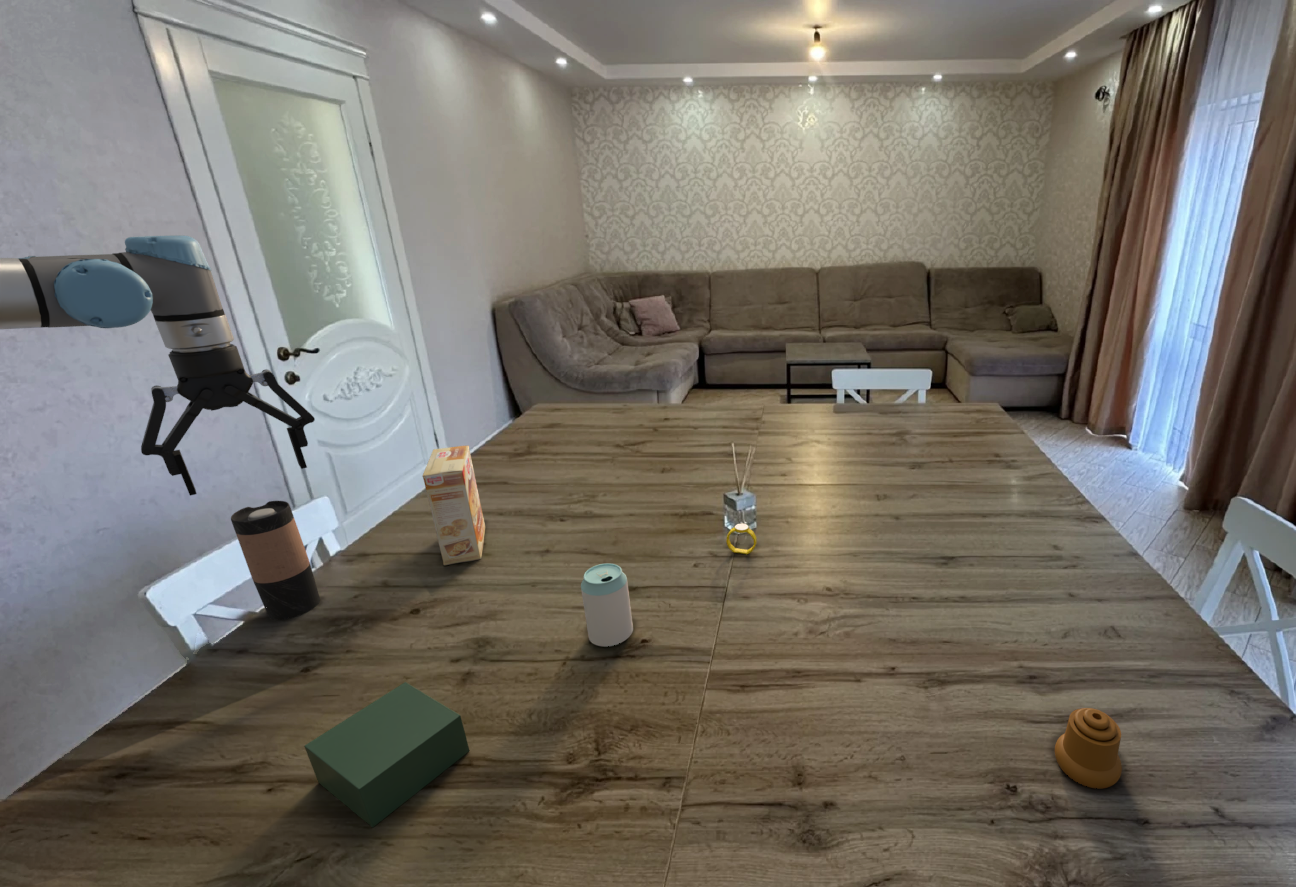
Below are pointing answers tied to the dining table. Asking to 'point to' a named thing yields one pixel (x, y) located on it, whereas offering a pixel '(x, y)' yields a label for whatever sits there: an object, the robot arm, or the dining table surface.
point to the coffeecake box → (455, 504)
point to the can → (606, 605)
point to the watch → (741, 529)
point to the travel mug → (276, 559)
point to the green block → (387, 752)
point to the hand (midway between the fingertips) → (250, 478)
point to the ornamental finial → (1090, 749)
